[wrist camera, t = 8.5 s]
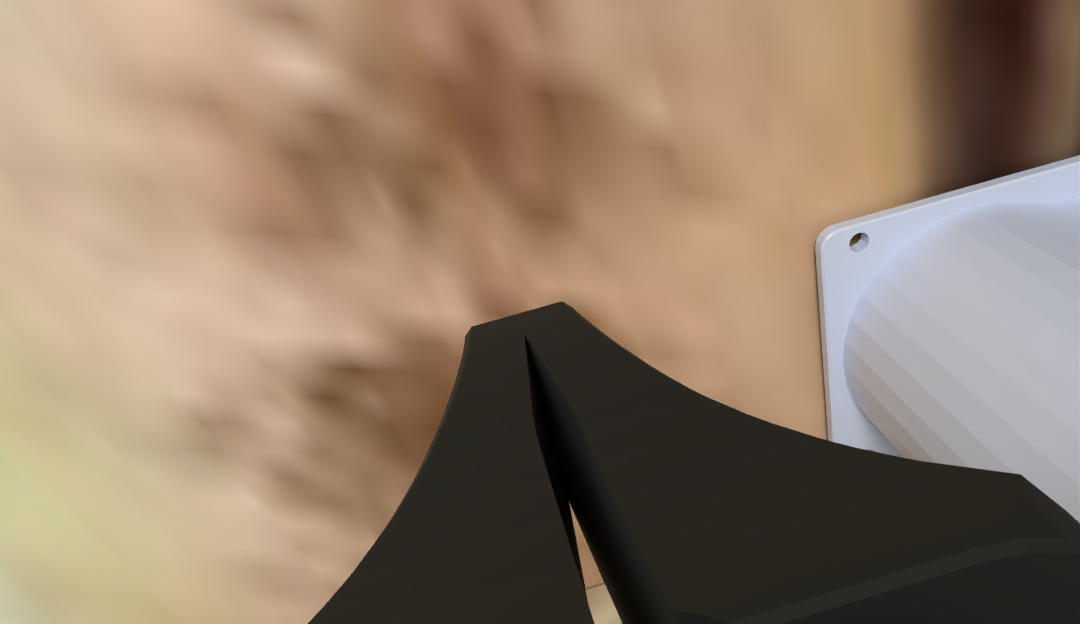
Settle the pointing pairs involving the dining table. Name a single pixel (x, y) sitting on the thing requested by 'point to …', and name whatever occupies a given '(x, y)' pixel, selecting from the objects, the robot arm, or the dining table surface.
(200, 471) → the dining table surface
